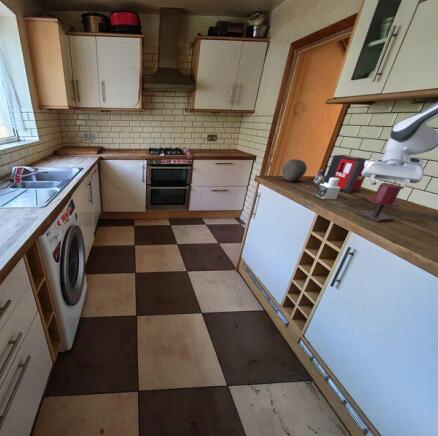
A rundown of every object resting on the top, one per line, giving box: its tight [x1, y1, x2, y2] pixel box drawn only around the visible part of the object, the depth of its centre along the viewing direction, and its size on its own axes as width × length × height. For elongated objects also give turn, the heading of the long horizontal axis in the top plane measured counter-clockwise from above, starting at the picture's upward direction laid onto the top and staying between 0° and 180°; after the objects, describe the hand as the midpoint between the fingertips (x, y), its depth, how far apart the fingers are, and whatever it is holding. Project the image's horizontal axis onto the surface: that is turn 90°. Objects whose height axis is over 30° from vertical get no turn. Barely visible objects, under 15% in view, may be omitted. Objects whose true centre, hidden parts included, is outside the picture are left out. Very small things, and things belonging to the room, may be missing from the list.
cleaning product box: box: [322, 154, 370, 194], centre depth 144 cm, size 16×9×20 cm, turn 22°
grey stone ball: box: [281, 158, 308, 183], centre depth 158 cm, size 14×14×15 cm
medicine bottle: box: [315, 176, 340, 200], centre depth 129 cm, size 7×7×12 cm
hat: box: [366, 182, 402, 207], centre depth 102 cm, size 10×10×8 cm
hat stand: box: [357, 204, 395, 223], centre depth 104 cm, size 9×9×15 cm
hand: (387, 186), depth 106 cm, fingers open, 8 cm apart
